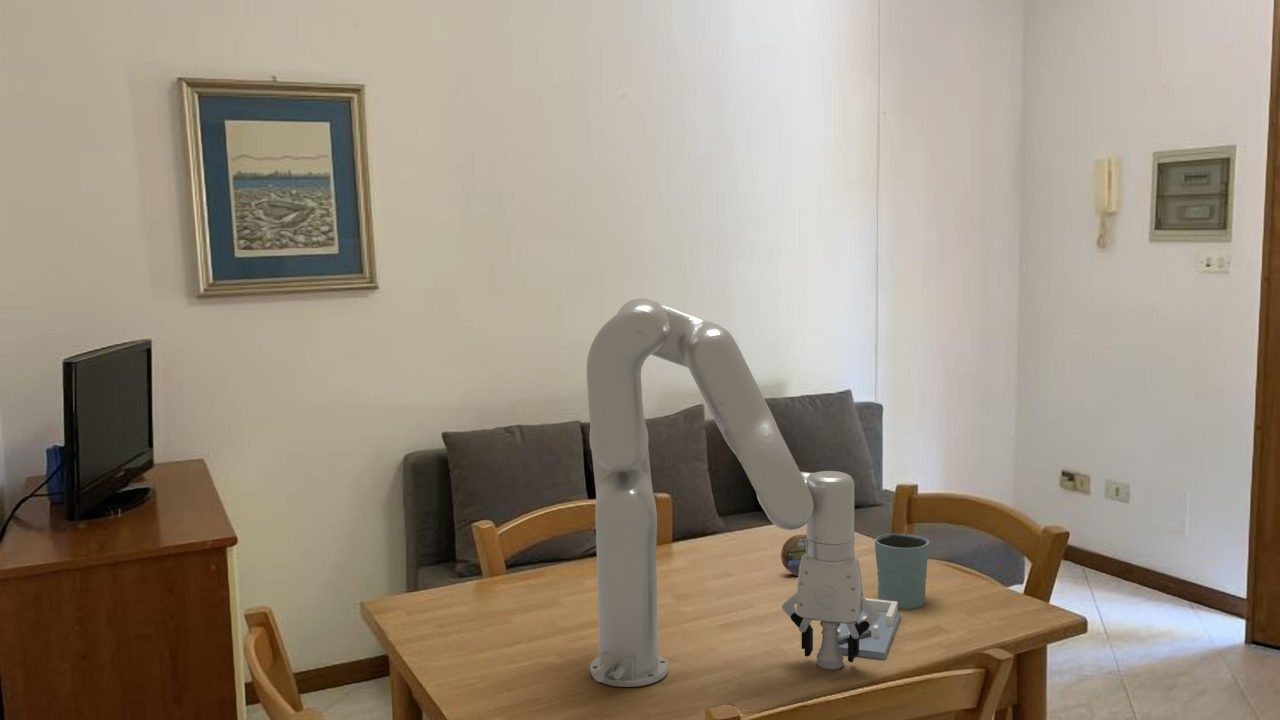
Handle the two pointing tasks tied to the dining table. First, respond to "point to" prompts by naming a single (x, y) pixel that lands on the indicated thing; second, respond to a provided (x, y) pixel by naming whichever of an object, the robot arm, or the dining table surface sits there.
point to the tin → (792, 554)
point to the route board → (873, 631)
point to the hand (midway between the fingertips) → (830, 655)
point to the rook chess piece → (830, 647)
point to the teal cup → (902, 569)
